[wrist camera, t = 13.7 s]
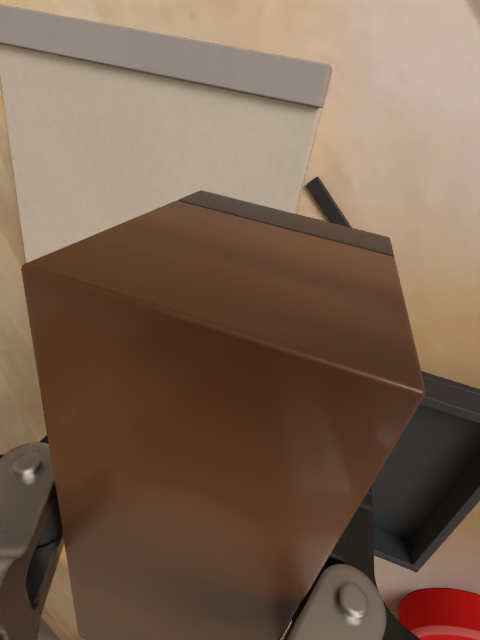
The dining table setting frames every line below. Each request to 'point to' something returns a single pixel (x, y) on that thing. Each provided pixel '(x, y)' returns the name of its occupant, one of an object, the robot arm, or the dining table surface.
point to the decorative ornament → (441, 614)
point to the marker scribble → (327, 202)
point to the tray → (429, 475)
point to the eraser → (215, 410)
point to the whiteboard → (145, 123)
